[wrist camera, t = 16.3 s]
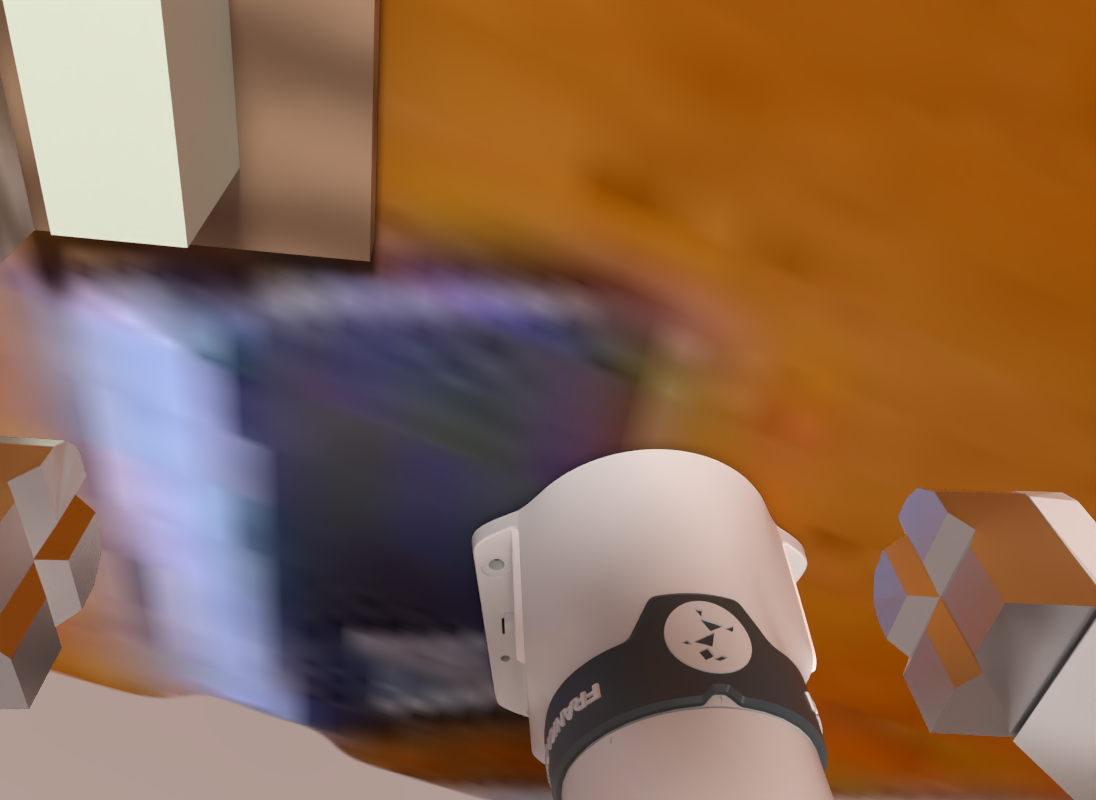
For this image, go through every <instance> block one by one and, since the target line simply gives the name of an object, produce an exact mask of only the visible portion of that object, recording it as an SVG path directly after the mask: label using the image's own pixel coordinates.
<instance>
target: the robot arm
mask: <svg viewBox="0 0 1096 800" xmlns="http://www.w3.org/2000/svg"><path fill="white" fill-rule="evenodd" d="M85 478H86V474H85V470H84V467H83V464H82V460H81V457H80V454H79V451H78V448H76V447H75V446H73V445H72V444H70V443H68V442H67V441H59V440H46V439H32V438H19V437H6V436H0V709H29V708H30V706H31V704H32V702H33V701H34V699H35V697H36V695H37V693H38V691H39V689H40V687H41V686H42V684H43V682H44V680H45V678H46V676H47V674H48V672H49V671H50V669H51V667H52V665H53V663H54V661H55V659H56V657H57V656H58V654H59V652H60V650H61V648H62V647H61V644H60V641H59V637H58V634H57V631H56V628H55V627H56V626H58V625H59V624H61V623H62V622H64V621H65V620H67V619H68V618H70V617H71V616H73V615H74V614H76V613H77V612H79V611H80V610H82V608H83V606H84V604H85V602H86V600H87V598H88V596H89V594H90V592H91V590H92V588H93V586H94V582H95V578H96V574H97V569H98V565H99V560H100V556H101V550H100V530H99V525H98V521H97V517H96V513H95V512H94V511H93V510H92V509H91V508H90V507H89V506H88V505H86V504H85V503H84V502H83V501H82V500H81V499H80V498H78V497H77V496H76V495H75V494H76V492H77V491H78V489H79V487H80V486H81V484H82V482H83V481H84V479H85ZM898 519H899V521H900V523H901V526H902V528H903V530H904V532H905V534H904V535H903V536H902V537H900V538H899V539H897V540H896V541H895V542H893V543H892V544H890V545H889V546H888V547H886V548H885V549H884V550H883V553H882V555H881V558H880V560H879V563H878V565H877V568H876V571H875V573H874V595H873V600H874V604H875V609H876V614H877V618H878V621H879V623H880V625H881V628H882V630H883V632H884V634H885V637H886V639H887V640H888V641H890V642H891V643H892V644H893V645H895V646H896V647H897V648H898V649H900V650H901V651H902V652H903V653H905V654H906V655H907V656H908V657H909V660H908V663H907V666H906V669H905V672H904V674H903V676H904V678H905V680H906V682H907V684H908V686H909V689H910V691H911V693H912V695H913V697H914V699H915V701H916V703H917V706H918V708H919V710H920V712H921V714H922V716H923V718H924V720H925V722H926V725H927V727H928V729H929V731H930V733H946V734H965V735H983V736H1002V737H1015V739H1014V740H1013V742H1014V743H1015V744H1016V745H1017V746H1018V747H1020V748H1021V749H1022V750H1023V751H1024V752H1025V753H1026V754H1027V755H1028V756H1029V757H1030V758H1031V759H1032V760H1033V761H1034V762H1035V763H1036V764H1037V765H1038V766H1039V767H1040V768H1042V769H1043V770H1044V771H1045V772H1046V773H1047V774H1048V775H1049V776H1050V777H1051V778H1052V779H1053V780H1054V781H1055V782H1056V783H1057V784H1058V785H1059V786H1060V787H1061V788H1062V789H1064V790H1065V791H1066V792H1067V793H1068V794H1069V795H1070V796H1071V797H1072V798H1073V799H1074V800H1096V522H1095V521H1094V520H1093V519H1092V518H1091V516H1090V515H1089V514H1088V513H1087V512H1086V510H1085V509H1084V508H1083V507H1082V506H1081V505H1080V503H1079V502H1078V501H1077V500H1075V499H1073V498H1071V497H1069V496H1068V495H1066V494H1064V493H1062V492H1031V491H1013V492H996V491H975V490H955V489H934V488H917V489H916V490H915V491H914V492H913V493H912V494H911V495H910V496H909V497H908V498H907V499H906V501H905V503H904V505H903V507H902V510H901V512H900V514H899V516H898ZM472 548H473V556H474V562H475V569H476V575H477V582H478V588H479V595H480V601H481V608H482V614H483V620H484V627H485V633H486V640H487V646H488V653H489V659H490V666H491V672H492V679H493V685H494V691H495V697H496V700H497V702H498V704H499V705H500V706H502V707H504V708H506V709H508V710H510V711H512V712H515V713H517V714H520V715H523V716H526V717H529V724H530V737H531V750H532V753H533V755H534V756H535V757H536V758H537V759H538V760H539V761H540V762H542V763H543V764H545V765H546V772H547V778H548V782H549V785H550V788H551V789H552V794H553V800H834V798H833V795H832V792H831V790H830V787H829V784H828V782H827V779H826V776H825V771H826V768H827V759H828V758H827V749H826V746H825V742H824V739H823V736H822V733H823V731H822V724H821V721H820V718H819V714H818V711H817V708H816V705H815V703H814V701H813V700H812V698H811V696H810V694H809V693H808V690H807V687H806V683H807V681H808V679H809V677H810V674H811V673H812V672H814V671H815V669H816V654H815V650H814V647H813V643H812V639H811V635H810V632H809V628H808V625H807V621H806V617H805V614H804V610H803V607H802V603H801V600H800V596H799V593H798V589H797V586H796V583H797V581H798V580H799V579H800V577H801V576H802V574H803V573H804V571H805V570H806V567H807V559H806V555H805V551H804V548H803V546H802V545H801V544H800V542H799V541H797V540H796V539H795V538H794V537H793V536H791V535H790V534H788V533H787V532H786V531H784V530H783V529H781V528H779V527H778V526H777V525H776V524H775V523H774V521H773V520H772V518H771V516H770V514H769V512H768V509H767V507H766V505H765V503H764V501H763V499H762V497H761V495H760V494H759V493H758V491H757V490H756V489H755V487H754V486H753V485H752V484H751V483H750V482H749V481H748V480H747V479H746V478H745V477H744V476H742V475H741V474H740V473H738V472H737V471H735V470H734V469H732V468H731V467H729V466H727V465H725V464H723V463H721V462H719V461H717V460H714V459H712V458H709V457H706V456H702V455H699V454H695V453H690V452H685V451H678V450H666V449H647V450H636V451H628V452H623V453H618V454H614V455H610V456H606V457H603V458H599V459H597V460H594V461H591V462H588V463H586V464H584V465H582V466H579V467H577V468H575V469H573V470H571V471H570V472H568V473H566V474H565V475H563V476H561V477H560V478H558V479H557V480H555V481H554V482H553V483H551V484H550V485H549V486H547V487H546V488H545V489H544V490H543V491H542V492H541V493H540V494H538V495H537V496H536V497H535V498H534V499H533V500H532V501H531V502H529V503H528V504H527V505H526V506H524V507H523V508H521V509H520V510H518V511H515V512H513V513H510V514H507V515H505V516H502V517H500V518H497V519H495V520H493V521H490V522H488V523H486V524H485V525H483V526H481V527H480V528H478V529H477V530H476V531H475V532H474V534H473V536H472ZM494 559H500V560H498V561H495V560H494Z"/></svg>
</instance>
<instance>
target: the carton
mask: <svg viewBox="0 0 1096 800" xmlns="http://www.w3.org/2000/svg"><path fill="white" fill-rule="evenodd" d="M3 5H4V10H5V14H6V19H7V24H8V29H9V34H10V39H11V44H12V48H13V53H14V58H15V63H16V68H17V73H18V78H19V82H20V87H21V92H22V97H23V102H24V107H25V111H26V116H27V121H28V126H29V131H30V136H31V141H32V145H33V150H34V155H35V160H36V165H37V170H38V174H39V179H40V184H41V189H42V194H43V199H44V204H45V208H46V213H47V218H48V223H49V228H50V233H51V235H58V236H68V237H79V238H89V239H100V240H110V241H120V242H131V243H141V244H152V245H162V246H172V247H183V248H188V247H189V245H190V244H191V242H192V241H193V239H194V237H195V236H196V234H197V233H198V231H199V230H200V228H201V227H202V225H203V223H204V222H205V220H206V219H207V217H208V216H209V214H210V213H211V211H212V210H213V208H214V206H215V205H216V203H217V202H218V200H219V199H220V197H221V196H222V194H223V192H224V191H225V189H226V188H227V186H228V185H229V183H230V182H231V180H232V179H233V177H234V175H235V174H236V172H237V171H238V169H239V168H240V163H239V148H238V133H237V119H236V104H235V89H234V75H233V60H232V45H231V31H230V16H229V1H228V0H3Z"/></svg>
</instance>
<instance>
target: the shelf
mask: <svg viewBox="0 0 1096 800" xmlns="http://www.w3.org/2000/svg"><path fill="white" fill-rule="evenodd" d="M228 1H229V16H230V31H231V45H232V60H233V75H234V89H235V104H236V119H237V133H238V148H239V163H240V168H239V169H238V171H237V172H236V174H235V175H234V177H233V179H232V180H231V182H230V183H229V185H228V186H227V188H226V189H225V191H224V192H223V194H222V196H221V197H220V199H219V200H218V202H217V203H216V205H215V206H214V208H213V210H212V211H211V213H210V214H209V216H208V217H207V219H206V220H205V222H204V223H203V225H202V227H201V228H200V230H199V231H198V233H197V234H196V236H195V237H194V239H193V241H192V242H191V244H190V245H199V246H210V247H220V248H231V249H242V250H252V251H263V252H274V253H284V254H295V255H306V256H316V257H327V258H338V259H348V260H359V261H370V259H371V254H372V250H373V246H374V242H375V213H376V166H377V120H378V74H379V27H380V0H228ZM34 230H39V231H50V228H49V223H48V218H47V213H46V208H45V204H44V199H43V194H42V189H41V184H40V179H39V174H38V170H37V165H36V160H35V155H34V150H33V145H32V141H31V136H30V131H29V126H28V121H27V116H26V111H25V107H24V102H23V97H22V92H21V87H20V82H19V78H18V73H17V68H16V63H15V58H14V53H13V48H12V44H11V39H10V34H9V29H8V24H7V19H6V14H5V10H4V5H3V0H0V264H1V263H2V262H3V261H4V260H5V259H6V258H7V257H8V256H9V255H10V254H11V253H12V252H13V251H14V250H15V249H16V248H17V247H18V246H19V245H20V244H21V243H22V242H23V241H24V240H25V239H26V238H27V237H28V236H29V235H30V234H31V233H32V232H33V231H34Z"/></svg>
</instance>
